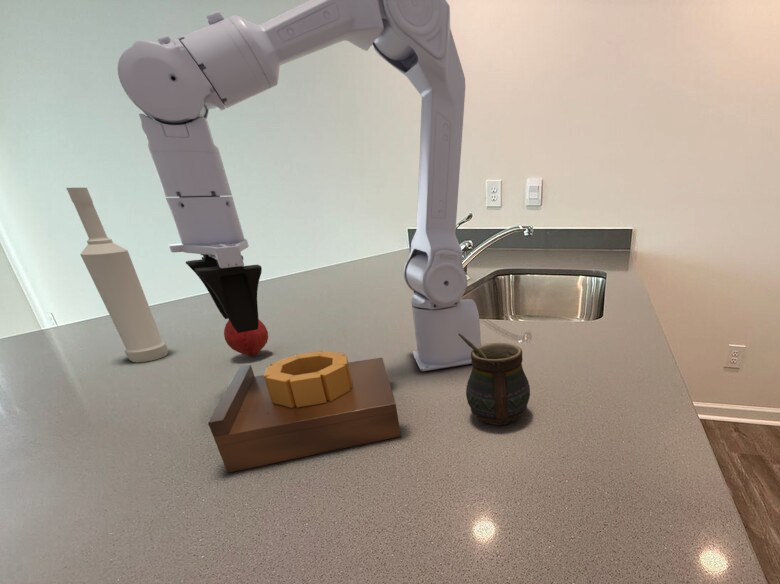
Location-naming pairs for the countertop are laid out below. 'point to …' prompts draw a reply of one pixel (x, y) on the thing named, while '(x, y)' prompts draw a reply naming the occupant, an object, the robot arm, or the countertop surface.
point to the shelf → (301, 419)
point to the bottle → (118, 285)
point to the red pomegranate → (246, 339)
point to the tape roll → (308, 378)
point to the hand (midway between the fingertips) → (240, 323)
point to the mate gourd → (497, 383)
